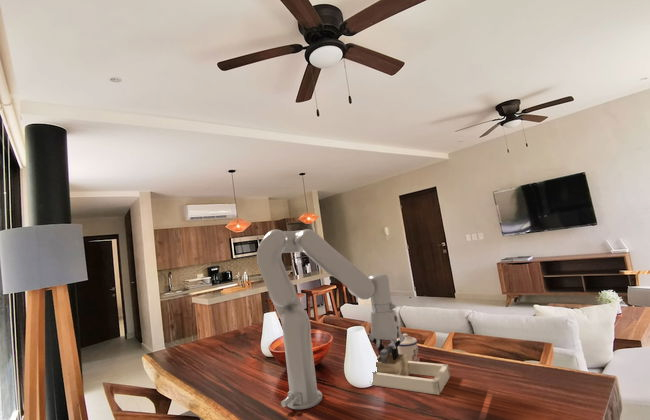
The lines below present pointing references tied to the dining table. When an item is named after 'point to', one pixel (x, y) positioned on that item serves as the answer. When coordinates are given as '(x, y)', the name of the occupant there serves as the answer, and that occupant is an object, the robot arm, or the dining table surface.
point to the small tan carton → (392, 363)
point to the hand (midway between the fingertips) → (389, 357)
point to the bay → (416, 378)
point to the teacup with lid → (409, 348)
